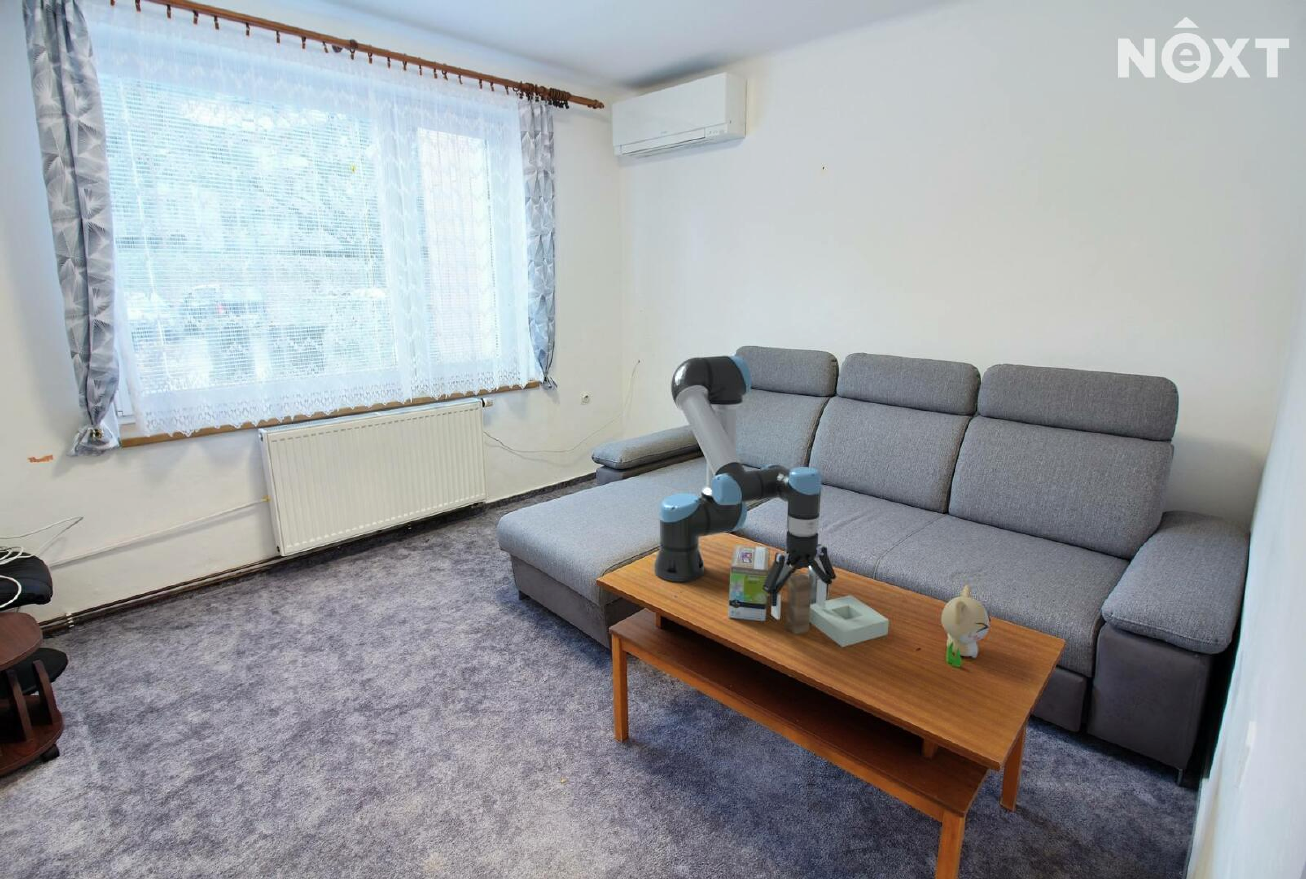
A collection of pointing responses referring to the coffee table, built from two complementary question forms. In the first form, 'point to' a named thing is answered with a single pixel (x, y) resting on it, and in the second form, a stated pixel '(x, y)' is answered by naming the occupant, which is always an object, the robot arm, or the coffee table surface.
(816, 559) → the round peg
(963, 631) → the kitten
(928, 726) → the coffee table surface
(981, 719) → the coffee table surface
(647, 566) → the coffee table surface
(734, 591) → the tea box
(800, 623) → the square peg
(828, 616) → the socket block
